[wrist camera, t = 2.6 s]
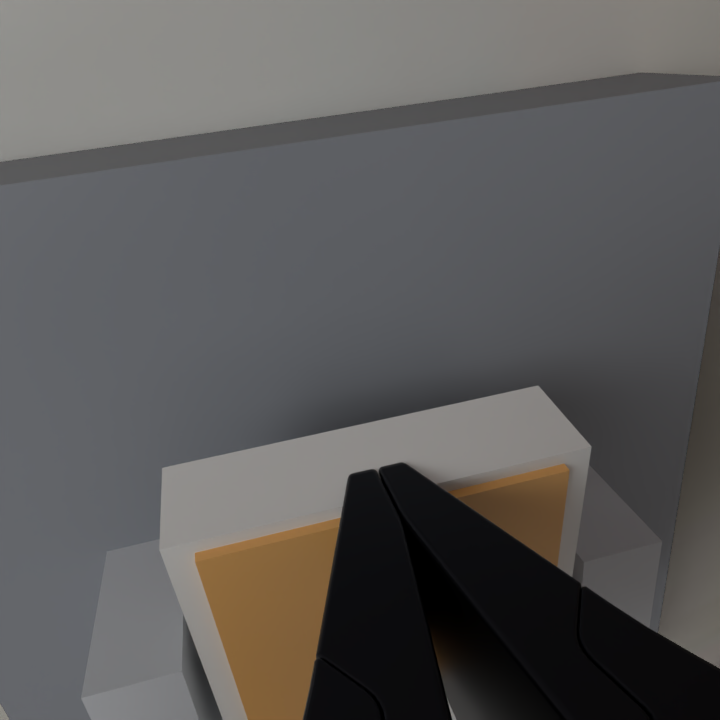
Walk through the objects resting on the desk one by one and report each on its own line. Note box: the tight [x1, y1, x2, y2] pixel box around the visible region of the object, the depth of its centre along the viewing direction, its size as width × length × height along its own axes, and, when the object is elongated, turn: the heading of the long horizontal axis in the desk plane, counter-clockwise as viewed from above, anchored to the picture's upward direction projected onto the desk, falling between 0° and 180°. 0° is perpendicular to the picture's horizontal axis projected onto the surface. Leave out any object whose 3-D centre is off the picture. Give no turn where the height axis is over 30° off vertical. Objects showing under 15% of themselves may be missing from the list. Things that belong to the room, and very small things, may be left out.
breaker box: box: [0, 73, 720, 720], centre depth 14 cm, size 18×16×6 cm
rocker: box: [159, 386, 591, 720], centre depth 12 cm, size 10×6×2 cm, turn 6°
